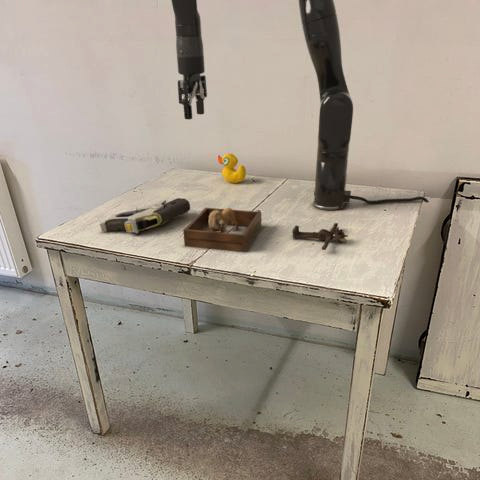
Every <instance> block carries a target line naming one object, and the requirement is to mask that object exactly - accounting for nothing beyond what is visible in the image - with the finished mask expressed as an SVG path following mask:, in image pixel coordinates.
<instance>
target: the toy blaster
mask: <svg viewBox="0 0 480 480" xmlns="http://www.w3.org/2000/svg"><path fill="white" fill-rule="evenodd" d="M135 209H136V210H130V211H123V212H120V213H117V214H114V215H112V216H110V217H108V218H106V219H104V220H102V221H101V222H100V223H99V227H100V229H101V233H104V232H105V233H106V232H109V231H110V232H113V231H122V230H123V231H124V230H125V231H126V232H127V233H134V234H139V233H140V232H141V231H144V230H148V229H152V228H156V227H157V226H161V225H162V226H163V225H165V224H166V223H167V222H169V221H171V220H174V219H176V218H179V217H180V216H182V215H184V214H187V213H188V212H190V210H191V204H190V201H189V200H187V199H186V198H181V197H177V198H175V199H172V200H170V201H167V199H164V200H161V201H158V202H155V203H152V204H149V205H144V206H139V207H136V208H135Z"/></svg>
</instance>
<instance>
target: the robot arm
mask: <svg viewBox="0 0 480 480" xmlns="http://www.w3.org/2000/svg"><path fill="white" fill-rule="evenodd" d="M170 1H171V5H172V10H173V14H174V26H175V27H174V29H175V37H176V38H175V50H176V51H175V52H176V62H177V73H178V74H179V75H182V76H183V77H182V78H183V79H179V80H177V93H178V103H179V104H180V105H181V106H183V115H184V117H183V118H184V119H185V120H193V109H192V108H193V107H192V103H193V99H195V107H196V114H197V115H205V102H204V101H205V99H206V98H207V97H208V92H207V90H208V89H207V78H206V75H202V74H204V73H205V71H206V70H205V69H206V67H205V55H204V53H205V52H204V42H203V37H202V21H201V15H200V13H199V11H198V1H197V0H170ZM335 5H336V4H335V0H298V9H299V17H300V22H301V23H300V24H301V27H302V32H303V37H304V42H305V45H306V49H307V51H308V55H309V58H310V60H311V63H312V66H313V68H314V71H315V74H316V79H317V85H318V86H317V87H318V93H319V115H318V133H317V149H316V153H317V154H316V162H315V163H316V166H315V181H314V191H313V196H314V197H313V206H314V208H317V209H319V210H324V211H336V210H344V209H343V208H344V206H345V203H346V204H350V201H351V200H358V201H362V202H364V203H366V204H369V205H378V204H385V203H404V202H405V203H407V202H409V203H411V202H415V201H423V202H424V203H429V200H428V199H427V197H424V196H415V197H410V198H409V197H408V198H384V199H378V200H369V199H366V198H365V197H362V196H357V195H352V190H346V189H347V188H346V187H347V178H348V174H347V173H348V161H349V151H350V144H351V143H350V142H351V136H352V126H353V118H354V103H353V99H352V97H351V94H350V91H349V89H348V85H347V81H346V78H345V77H346V76H345V74H344V69H343V59H342V41H341V33H340V32H341V31H340V25H339V21H338V20H339V19H338V15H337V9H336V6H335Z"/></svg>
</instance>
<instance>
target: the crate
mask: <svg viewBox="0 0 480 480" xmlns="http://www.w3.org/2000/svg"><path fill="white" fill-rule="evenodd" d="M224 209H225V208H217V207H216V208H215V207H204V208H203V209H202V210H201V211H200V212H199V214H197V215H196V217H194V219H193V220H191V222H190V223H189V224H188V225H186V227H185V228H184V229H183V230H182V231H183V232H182V233H183V243H184V247H191V248H199V249H200V248H201V249H211V250H223V251H231V252H240V253H242V252H243V253H246V252H247V251H248V248H250V245H251V244H252V243H253V241H254V239H255V238H256V236H257V234H258V233H259V231H260V230H261V229H262V220H263V219H262V211H255V210H241V209H232V210H233V211H234V213H235V218H236V221H237V222H238V227H243V228H244V227H245V228H246V229H245V230H244V232H243V233H234V232H225V231H224V232H221V231H218V232H212V230H211V231H210V230H204V229H205V228H206V227H207V225H209V223H208V220H209V215H210V213H211V212H212V211H214V210H218V211H221V212H222V211H223V210H224ZM231 223H232V221H231V220H230V219H229V220H228V223H227V226H231V227H235V224H234V225H232V224H231Z"/></svg>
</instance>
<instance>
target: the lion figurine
mask: <svg viewBox="0 0 480 480" xmlns="http://www.w3.org/2000/svg"><path fill="white" fill-rule="evenodd" d="M223 209H224V210H223V211H222V212H221V211H218V210H214V211H212V212H211V213H210V215H209V220H208V223H209V224H208V227H209V228H210V230H211V231H212V232H224V233H225V231H226V230H227V226H228V225H227V223H228V220H229V219H230V220H231V221H232V223H231V224H232V225H234V224H235V226H233V230H234V231H238V230H239V226H238V222H237V221H236V218H235V213H234V211H233V210H234V209H233V208H230V207H228V208H223ZM232 225H231V226H232Z"/></svg>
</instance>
